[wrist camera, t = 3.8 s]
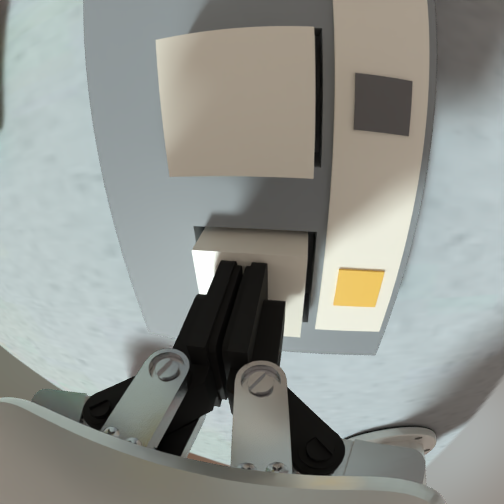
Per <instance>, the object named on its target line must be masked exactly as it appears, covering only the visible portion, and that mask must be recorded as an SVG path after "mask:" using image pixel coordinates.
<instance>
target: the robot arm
mask: <svg viewBox="0 0 504 504" xmlns="http://www.w3.org/2000/svg"><path fill="white" fill-rule="evenodd" d="M285 307H286V301H278V300H268V264H267V263H257V262H252V263H251V266H246V267H245V270H244V273H243V270H242V266H241V265H237V262H236V261H226V260H221V261H220V263H219V265H218V268H217V270H216V272H215V275H214V277H213V280H212V282H211V285H210V287H209V289H208V292H207V294H197V295H196V297H195V298H194V301H193V303H192V305H191V307H190V310H189V312H188V314H187V317H186V319H185V321H184V323H183V326H182V328H181V330H180V333H179V335H178V337H177V340H176V342H175V344H174V347H173V349H171V348H169V349H162V350H159V351H156V352H155V353H153V354H151V355H150V356H149V358H148V359H147V360H146V361H145V363H144V364H143V366H142V367H141V369H140V370H139V372H138V373H137V375H136V376H134V377H132V378H129V379H127V380H125V381H123V382H121V383H118V384H116V385H114V386H112V387H109V388H107V389H105V390H103V391H100V392H98V393H96V394H94V395H92V396H88V395H87V394H85V393H76V392H68V391H60V390H53V389H42V390H39V391H38V392H37V393H36V394H35V395H34V396H33V398H32V401H31V402H30V401H27V400H24V399H19V398H12V397H6V398H0V504H446V501H445V500H444V498H443V497H442V495H441V494H440V493H438V492H437V491H436V490H434V489H432V488H430V487H428V486H427V485H426V469H425V457H424V455H425V454H427V453H428V452H430V451H431V450H432V449H433V448H434V446H435V445H436V435H435V433H434V432H433V431H432V430H430V429H427V428H422V427H400V428H391V429H384V430H379V431H374V432H369V433H365V434H362V435H358V436H355V437H352V438H349V439H342V438H340V436H339V435H338V434H337V433H336V432H334V431H333V430H332V429H331V428H330V427H329V426H328V425H327V424H326V423H325V422H324V421H322V420H321V419H320V418H319V417H318V416H317V415H316V414H315V413H314V412H313V411H312V410H311V409H310V408H309V407H308V406H306V405H305V404H304V403H303V402H302V401H301V400H300V399H299V398H298V397H297V396H296V395H295V394H294V393H293V392H292V391H291V390H290V389H289V388H288V387H287V379H286V376H285V373H284V372H283V370H282V369H281V368H280V360H281V352H282V343H283V335H284V324H285ZM227 398H228V399H229V404H230V409H231V413H232V414H233V426H232V446H231V467H228V466H222V465H217V464H211V463H207V462H201V461H197V460H192V459H188V458H186V457H187V455H188V453H189V451H190V449H191V447H192V445H193V443H194V441H195V439H196V437H197V435H198V433H199V431H200V429H201V427H202V424H203V422H204V420H205V417H206V414H207V413H208V412H210V411H212V410H213V408H214V406H218V407H220V405H221V401H222V399H225V400H227Z"/></svg>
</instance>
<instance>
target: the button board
mask: <svg viewBox="0 0 504 504" xmlns="http://www.w3.org/2000/svg"><path fill="white" fill-rule="evenodd" d="M83 16H84V44H85V59H86V71H87V81H88V91H89V99H90V107H91V114H92V121H93V127H94V133H95V139H96V145H97V151H98V156H99V161H100V166H101V171H102V176H103V180H104V185H105V189H106V194H107V198H108V202H109V206H110V210H111V214H112V218H113V222H114V226H115V230H116V233H117V237H118V240H119V244H120V247H121V251H122V254H123V258H124V261H125V264H126V267H127V271H128V274H129V277H130V280H131V283H132V286H133V289H134V292H135V295H136V298H137V301H138V304H139V307H140V309H141V312H142V315H143V318H144V320H145V323H146V326H147V328H148V331H149V334H153V335H159V336H164V337H170V338H177V337H178V335H179V333H180V330H181V328H182V326H183V323H184V321H185V319H186V317H187V314H188V312H189V310H190V307H191V305H192V303H193V301H194V298H195V297H196V295H197V294H199V289H198V283H197V278H196V272H195V266H194V261H193V255H192V249H193V247H194V245H195V244H196V242H197V240H198V239H199V237H200V235H201V234H202V232H203V230H204V228H205V227H228V228H251V229H271V230H290V231H308V260H307V272H306V284H305V295H304V306H303V316H302V325H301V335H300V337H287V336H283V343H282V351H287V352H301V353H318V354H341V355H376V353H377V350H378V348H379V345H380V342H381V340H382V337H383V335H384V332H385V329H386V326H387V324H388V321H389V318H390V315H391V312H392V309H393V306H394V303H395V300H396V297H397V294H398V291H399V288H400V285H401V281H402V278H403V275H404V271H405V268H406V264H407V260H408V257H409V253H410V249H411V245H412V241H413V237H414V233H415V229H416V225H417V220H418V216H419V211H420V207H421V202H422V197H423V191H424V186H425V180H426V174H427V168H428V162H429V155H430V148H431V140H432V131H433V121H434V110H435V96H436V74H437V34H436V14H435V1H434V0H83ZM262 26H310V27H314V35H315V150H314V178H313V179H308V178H285V177H250V176H190V177H169V170H168V163H167V155H166V147H165V139H164V131H163V122H162V113H161V103H160V93H159V82H158V70H157V56H156V40H157V39H162V38H167V37H172V36H178V35H184V34H190V33H197V32H204V31H212V30H221V29H231V28H244V27H262Z"/></svg>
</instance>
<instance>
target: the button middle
mask: <svg viewBox="0 0 504 504" xmlns="http://www.w3.org/2000/svg"><path fill="white" fill-rule="evenodd" d="M156 56H157V70H158V82H159V93H160V103H161V113H162V122H163V131H164V139H165V147H166V155H167V163H168V170H169V177H190V176H250V177H285V178H308V179H313V178H314V150H315V35H314V27H310V26H262V27H244V28H231V29H221V30H212V31H204V32H197V33H190V34H184V35H178V36H172V37H167V38H162V39H157V40H156Z"/></svg>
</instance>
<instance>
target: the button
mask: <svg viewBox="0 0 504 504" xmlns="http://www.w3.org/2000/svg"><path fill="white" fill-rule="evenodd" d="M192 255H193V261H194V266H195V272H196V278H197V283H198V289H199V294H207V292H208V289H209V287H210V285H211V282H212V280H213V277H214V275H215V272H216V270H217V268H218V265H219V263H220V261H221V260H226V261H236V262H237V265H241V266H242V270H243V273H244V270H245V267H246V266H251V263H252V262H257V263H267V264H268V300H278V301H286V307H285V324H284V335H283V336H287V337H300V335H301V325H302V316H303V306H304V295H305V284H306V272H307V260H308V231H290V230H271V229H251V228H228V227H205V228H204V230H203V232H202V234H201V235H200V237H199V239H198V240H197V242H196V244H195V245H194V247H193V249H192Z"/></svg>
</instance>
